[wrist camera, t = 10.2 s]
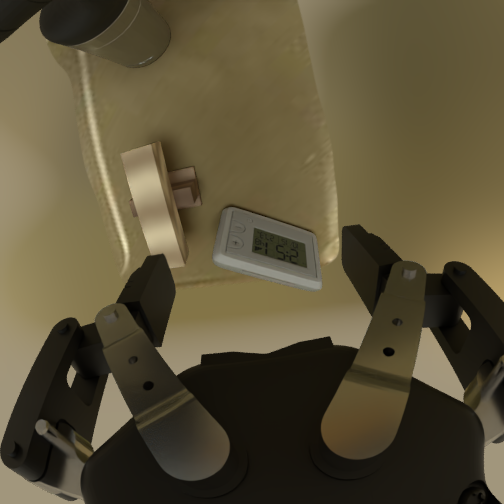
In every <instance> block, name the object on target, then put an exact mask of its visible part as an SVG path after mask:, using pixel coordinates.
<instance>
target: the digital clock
mask: <svg viewBox="0 0 504 504" xmlns="http://www.w3.org/2000/svg"><path fill="white" fill-rule="evenodd" d="M212 259H213V262H214V264H215V265H217V266H218V267H221V268H224V269H227V270H231V271H234V272H238V273H241V274H245V275H249V276H252V277H256V278H260V279H264V280H267V281H271V282H275V283H279V284H283V285H286V286H290V287H294V288H298V289H302V290H306V291H318V290H320V289H321V288H322V276H321V267H320V260H319V252H318V245H317V239H316V236H315V235H314V234H313V233H311V232H309V231H306V230H303V229H300V228H297V227H294V226H291V225H288V224H285V223H282V222H279V221H276V220H273V219H270V218H267V217H264V216H261V215H258V214H254V213H251V212H248V211H245V210H242V209H238V208H235V207H228V208H225V209H224V210H223V211H222V215H221V219H220V223H219V227H218V232H217V236H216V241H215V245H214V250H213V256H212Z"/></svg>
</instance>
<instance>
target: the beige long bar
mask: <svg viewBox="0 0 504 504" xmlns="http://www.w3.org/2000/svg"><path fill="white" fill-rule="evenodd" d="M121 157H122V161H123V165H124V169H125V173H126V176H127V180H128V184H129V187H130V191H131V194H132V197H133V201H134V204H135V207H136V211H137V214H138V217H139V220H140V223H141V226H142V229H143V232H144V235H145V238H146V241H147V244H148V247H149V250H150V253H151V255H156V254H162V253H163V254H164V255H165V257H166V259H167V262H168V265H169V268H176V267H182V266H185V264H186V261H187V257H188V254H189V249H188V246H187V242H186V239H185V236H184V232H183V229H182V225H181V222H180V218H179V214H178V211H177V207H176V203H175V200H174V196H173V192H172V188H171V184H170V180H169V176H168V172H167V168H166V164H165V160H164V155H163V151H162V147H161V142H160V141H159V142H155V143H152V144H149V145H145V146H142V147H139V148H135V149H132V150H129V151H127V152H124V153H121Z"/></svg>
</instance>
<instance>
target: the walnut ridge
mask: <svg viewBox="0 0 504 504" xmlns="http://www.w3.org/2000/svg"><path fill="white" fill-rule="evenodd" d="M168 176H169V180H170V184H171V188H172V192H173V196H174V200H175V203H176V207H177V210H180V209H185V208H190V207H195V206H200V205H202V201H201V197H200V192H199V188H198V183H197V179H196V174H195V169H194V166H193V167H188V168H183V169H179V170H175V171H170V172H168ZM129 203H130V207H131V210H132V213H133V217H136V216H138V214H137V211H136V207H135V204H134V201H133V198H132V199H131V200H130V201H129Z"/></svg>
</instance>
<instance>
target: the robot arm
mask: <svg viewBox="0 0 504 504" xmlns="http://www.w3.org/2000/svg"><path fill="white" fill-rule="evenodd" d="M41 9H42V10H41ZM39 10H41V14H40V20H39V22H40V30H41V32H42V34H43V36H44V37H45V38H46V39H48V40H49V41H51V42H54V43H57V44H61V45H64V46H68V47H71V48H74V49H78V50H81V51H84V52H87V53H90V54H93V55H96V56H99V57H102V58H105V59H108V60H111V61H113V62H116V63H119V64H121V65H124V66H126V67H132V68H136V67H142V66H145V65H148V64H150V63H152V62H153V61H155V60H156V59H158V58H159V57H160V56H161V55H162V54H163V52H164V51H165V50H166V48H167V46H168V44H169V41H170V29H169V27H168V25H167V23H166V22H165V21H164V19H163V18H162V17H161V16H160V14H159V13H158V12H157V11H156V9H155V8H154V7H153V6H152V5H151V3H150V2H149V1H148V0H0V43H1V42H2V41H4V40H5V39H6V38H8V37H9V36H10V35H11V34H12V33H14V32H15V31H16V30H17V29H18V28H19V27H20V26H22V25H23V24H24V23H25V22H26V21H27V20H29V19H30V18H31V17H32V16H33V15H35V14H36V13H37V12H38V11H39ZM342 265H343V268H344V271H345V273H346V274H347V276H348V277H349V279H350V281H351V282H352V284H353V285H354V287H355V289H356V291H357V292H358V294H359V295H360V297H361V299H362V301H363V302H364V304H365V306H366V307H367V309H368V311H369V313H370V314H371V316H372V319H371V322H370V324H369V327H368V329H367V332H366V334H365V336H364V339H363V341H362V344H361V346H360V348H359V349H357V348H353V347H348V346H341V345H333V343H332V340H331V338H330V337H324V338H319V339H314V340H308V341H303V342H298V343H296V344H293V345H290V346H288V347H285V348H282V349H279V350H276V351H274V352H271V353H267V354H258V353H243V352H224V353H214V354H203V355H202V356H201V364H200V365H197V366H194V367H191V368H189V369H187V370H185V371H183V372H182V373H180V374H178V375H177V376H176V375H175V374H174V373H173V371H172V370H171V369H170V367H169V366H168V365H167V363H166V362H165V361H164V360H163V358H162V357H161V355H160V354H159V353H158V351H157V350H156V348H155V347H161V346H162V342H163V338H164V334H165V330H166V327H167V323H168V320H169V316H170V312H171V309H172V305H173V302H174V298H175V293H176V290H175V284H174V280H173V277H172V274H171V271H170V268H169V265H168V262H167V259H166V257H165V255H164V254H163V253H162V254H156V255H150V256H147V257H146V259H145V261H144V263H143V264H142V266H141V268H138V269H137V270H136V271H135V272H134V273H132V274H131V276H130V278H129V280H128V283H126V285H125V288H124V289H123V291H122V292H121V294H120V296H119V298H118V300H117V302H116V303H115V304H111V305H108V306H106V307H104V308H103V309H102V310H100V311H99V312H98V314H97V315H96V317H95V322H94V323H92V324H88V325H85V326H82V327H81V326H80V324H79V323H78V321H77V319H75V318H66V319H63V320H61V321H60V322H59V323H57V324H56V325H55V326H54V327H53V329H52V331H51V332H50V334H49V336H48V338H47V340H46V341H45V343H44V345H43V347H42V349H41V351H40V353H39V355H38V356H37V358H36V360H35V362H34V364H33V366H32V368H31V370H30V373H29V375H28V377H27V379H26V381H25V383H24V385H23V388H22V390H21V392H20V395H19V397H18V399H17V402H16V404H15V407H14V409H13V412H12V414H11V417H10V420H9V422H8V425H7V428H6V431H5V434H4V437H3V440H2V443H1V448H0V454H1V459H2V461H3V463H4V464H5V465H6V466H7V467H8V468H10V469H11V470H13V471H14V472H16V473H17V474H19V475H21V476H22V477H23V478H24V479H26V480H27V481H29V482H30V483H32V484H34V485H36V486H37V487H39V488H41V489H43V490H45V491H47V492H49V493H51V494H55V495H57V496H59V497H61V498H63V499H65V500H68V501H74V500H77V499H81V500H84V502H85V504H502V503H500V502H499V501H498V500H497V499H496V498H495V496H494V495H493V494H492V493H491V492H490V490H489V489H488V487H487V484H486V481H485V474H484V447H485V446H486V445H488V444H490V443H491V442H492V443H501V442H503V441H504V302H503V301H502V300H501V299H500V297H499V296H498V295H497V294H496V293H495V292H494V291H493V290H492V289H491V288H490V287H489V286H488V285H487V284H486V283H485V281H484V280H483V279H482V278H480V276H479V275H478V274H477V273H476V272H475V271H474V270H473V269H472V268H471V267H469V266H468V265H466V264H464V263H461V262H456V261H452V262H448V263H446V264H445V266H444V270H443V273H442V274H427V272H426V270H425V268H424V267H423V266H422V265H420V264H418V263H416V262H413V261H403V260H402V259H401V258H400V257H399V256H398V255H397V254H396V253H395V252H394V251H393V250H392V249H390V247H389V246H388V245H387V244H386V243H385V242H384V241H383V240H382V239H381V238H380V237H378V236H376V235H374V234H372V233H367V232H366V230H365V229H364V228H363V227H362V226H360V225H359V224H358V225H351V226H344V227H343V229H342ZM463 310H464V311H465V312H466V313H467V315H468V316H469V318H470V320H471V330H469V329H468V327H467V326H466V324H465V323H464V322H463V320H462V319H461V315H462V312H463ZM427 327H429V328H430V330H431V331H432V333H433V335H434V336H435V338H436V339H437V341H438V343H439V345H440V346H441V348H442V350H443V351H444V353H445V355H446V357H447V358H448V360H449V362H450V364H451V365H452V367H453V369H454V371H455V373H456V375H457V376H458V378H459V381H460V382H461V384H462V386H463V388H464V390H465V392H464V398H463V400H464V403H463V402H461V401H459V400H457V399H455V398H453V397H451V396H449V395H447V394H445V393H443V392H441V391H439V390H437V389H435V388H433V387H431V386H429V385H427V384H425V383H423V382H421V381H419V380H418V379H416V378H414V377H412V374H413V370H414V366H415V362H416V357H417V352H418V347H419V342H420V337H421V331H422V328H427ZM71 365H72V367H73V368H74V369H75V370H76V372H77V373H76V375H75V378H74V381H73V383H72V386H71V388H70V387H69V385H68V383H67V373H68V371H69V368H70V366H71ZM109 373H112V374H113V377H114V379H115V381H116V383H117V385H118V387H119V389H120V391H121V394H122V396H123V398H124V400H125V402H126V404H127V405H128V407H129V409H130V411H131V413H132V415H133V417H132V418H131V419H130V420H129V421H128V422H127V423H126V424H125V425H124V426H122V427H121V428H120V429H119V430H118V431H117V432H116V433H115V434H114V435H113V436H112V437H111V438H109V439H108V440H107V441H106V442H105V443H104V444H103V445H102V446H101V447H99V448H98V449H97V450H96V451H95V452H94V450H93V447H92V445H91V442H92V437H93V432H94V428H95V424H96V419H97V415H98V411H99V407H100V403H101V400H102V396H103V392H104V389H105V385H106V381H107V378H108V374H109Z"/></svg>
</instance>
